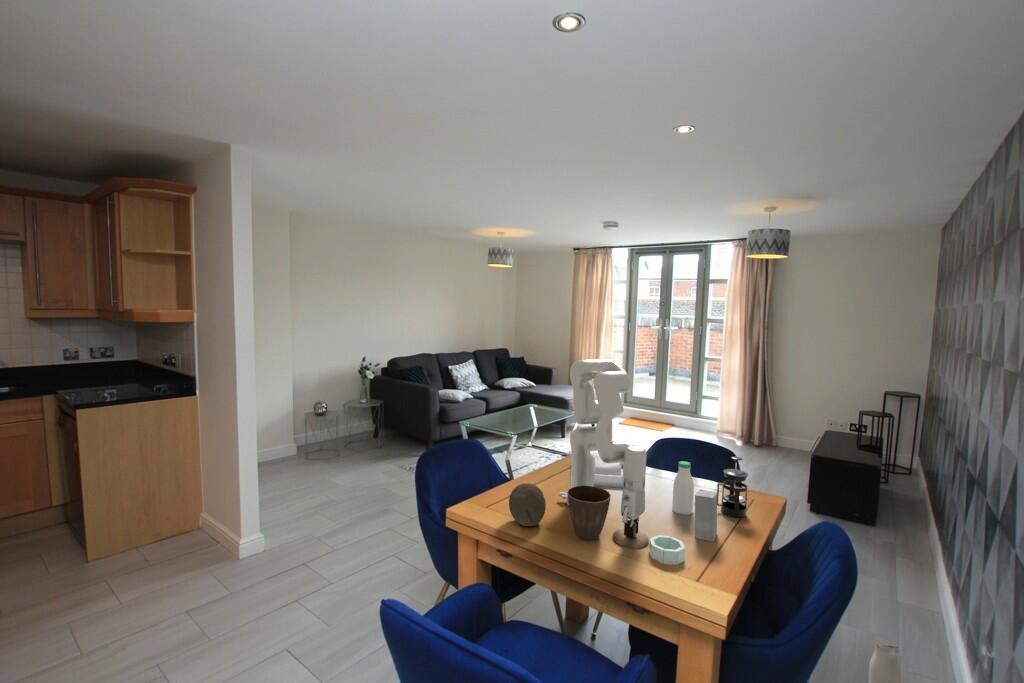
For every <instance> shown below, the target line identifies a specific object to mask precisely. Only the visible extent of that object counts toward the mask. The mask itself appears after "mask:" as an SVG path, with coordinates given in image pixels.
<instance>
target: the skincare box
mask: <svg viewBox="0 0 1024 683" xmlns="http://www.w3.org/2000/svg"><path fill="white" fill-rule="evenodd" d="M717 533H718V506H717V491H712V490H705V489H701V488H700V489H698V491H696V494H695V495H694V538H695V539H698V540H704V541H707V542H711V543H714V542H715V539H716V537H717Z"/></svg>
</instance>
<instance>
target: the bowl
mask: <svg viewBox="0 0 1024 683" xmlns="http://www.w3.org/2000/svg"><path fill="white" fill-rule="evenodd" d="M648 545H649V548H648V554H649V555H650V558H651V559H653V560H655V561H657V562H658V563H661V564H662V563H663V565H672V564H673V565H677V566H678V565H679V564H682V563H683V562H685V559H686V558H685V557H686V546H685V544H684V541H682V540H680V539H678V538H675V537H674V536H669V535H660V534H659V535H658V534H657V535H655V536H653V537H651V538H649V543H648Z"/></svg>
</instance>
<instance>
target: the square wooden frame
mask: <svg viewBox="0 0 1024 683" xmlns="http://www.w3.org/2000/svg"><path fill="white" fill-rule="evenodd" d="M591 456H599V454H591ZM619 463H620V465H621V468H623V462H619ZM622 480H623V476H621V475H619V476H614V475H597V474H595V478H594V486H596V487H598V486H599V487H615V488H623V486H622Z"/></svg>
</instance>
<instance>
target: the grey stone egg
mask: <svg viewBox="0 0 1024 683" xmlns="http://www.w3.org/2000/svg"><path fill="white" fill-rule="evenodd" d="M508 507H509V512H510V514H511V516H512V518H513V519H514V520H515V521H516V522H517V523H518V524H519V525H521V526H522V527H525V526H529V527H534V526H537V525H539V524H540V523H541V521H542V520H543V518H544V516H545V513H546V507H547V504H546V498H545V496H544V494H543V491H542V489H541V488H539V486H537V485H536V484H534V483H528V482H525V483H520V484H518V485H516V486H515V487H514V488H513V490H512V491H511V493H510V495H509V498H508Z"/></svg>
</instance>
